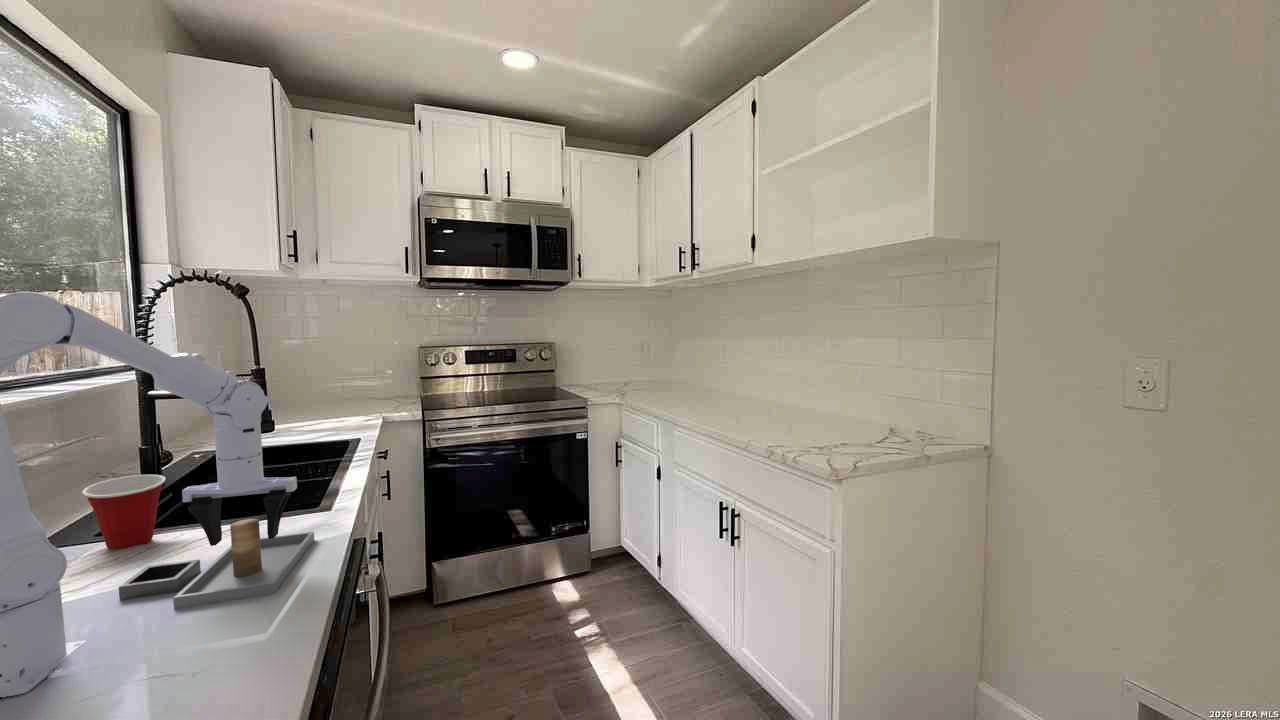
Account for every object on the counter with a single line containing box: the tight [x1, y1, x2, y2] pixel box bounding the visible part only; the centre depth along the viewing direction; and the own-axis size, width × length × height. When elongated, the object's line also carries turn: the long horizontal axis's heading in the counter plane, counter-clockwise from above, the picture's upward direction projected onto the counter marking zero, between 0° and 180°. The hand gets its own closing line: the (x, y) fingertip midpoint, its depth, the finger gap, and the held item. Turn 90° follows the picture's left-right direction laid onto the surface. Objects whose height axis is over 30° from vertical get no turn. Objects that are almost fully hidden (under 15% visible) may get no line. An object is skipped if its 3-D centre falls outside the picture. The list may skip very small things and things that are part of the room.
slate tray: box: [172, 531, 315, 610], centre depth 82 cm, size 20×12×2 cm, turn 18°
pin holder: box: [118, 559, 201, 602], centre depth 78 cm, size 7×7×3 cm
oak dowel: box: [230, 518, 262, 577], centre depth 81 cm, size 4×4×8 cm
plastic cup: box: [81, 474, 166, 550], centre depth 94 cm, size 11×11×12 cm
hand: (245, 539), depth 81 cm, fingers open, 7 cm apart
